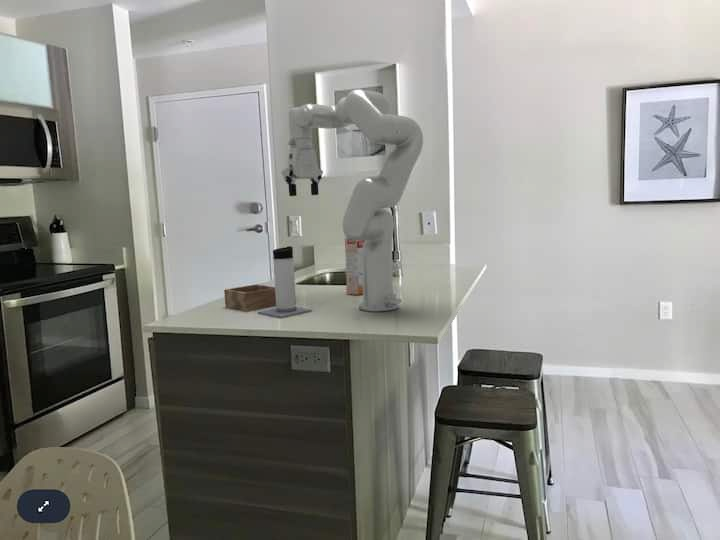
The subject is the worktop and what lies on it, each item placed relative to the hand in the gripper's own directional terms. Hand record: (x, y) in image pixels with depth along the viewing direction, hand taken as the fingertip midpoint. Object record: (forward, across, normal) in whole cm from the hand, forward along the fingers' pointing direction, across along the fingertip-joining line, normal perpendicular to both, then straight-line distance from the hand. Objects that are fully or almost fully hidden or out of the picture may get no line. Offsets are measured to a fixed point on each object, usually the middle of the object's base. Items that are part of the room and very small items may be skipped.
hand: (304, 195), depth 200 cm
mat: (+36, -20, -12) cm, 43 cm away
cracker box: (+36, +20, -7) cm, 42 cm away
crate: (+36, -20, +6) cm, 42 cm away
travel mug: (+36, -19, -12) cm, 43 cm away
